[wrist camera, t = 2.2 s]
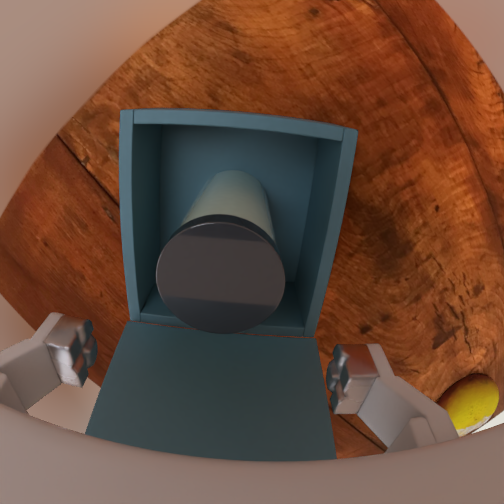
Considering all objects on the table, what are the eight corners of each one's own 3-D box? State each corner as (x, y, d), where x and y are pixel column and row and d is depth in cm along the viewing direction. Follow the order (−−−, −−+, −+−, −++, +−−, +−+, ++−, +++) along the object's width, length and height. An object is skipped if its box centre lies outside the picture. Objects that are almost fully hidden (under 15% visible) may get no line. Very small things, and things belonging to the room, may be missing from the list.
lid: (58, 526, 7) (65, 529, 8) (349, 557, 8) (343, 558, 8) (127, 320, 20) (129, 329, 20) (316, 338, 20) (313, 346, 21)
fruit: (416, 425, 38) (439, 456, 30) (442, 366, 36) (472, 393, 28) (466, 418, 38) (490, 443, 30) (490, 363, 37) (520, 385, 29)
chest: (155, 107, 21) (119, 109, 15) (329, 122, 21) (359, 130, 15) (154, 272, 27) (130, 320, 20) (301, 285, 27) (313, 337, 21)
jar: (239, 152, 22) (229, 193, 12) (285, 211, 23) (310, 294, 14) (180, 198, 23) (130, 272, 13) (227, 252, 25) (213, 351, 15)
